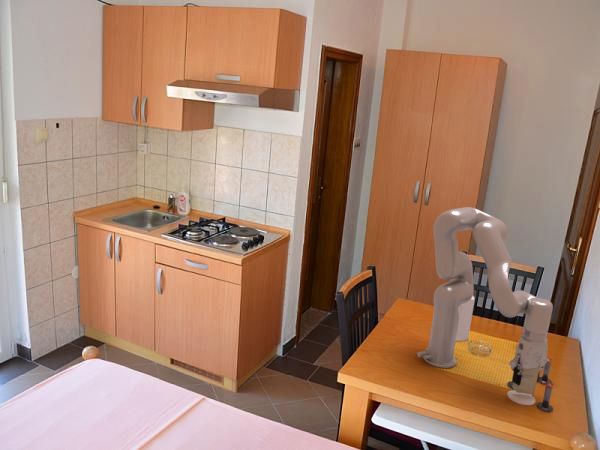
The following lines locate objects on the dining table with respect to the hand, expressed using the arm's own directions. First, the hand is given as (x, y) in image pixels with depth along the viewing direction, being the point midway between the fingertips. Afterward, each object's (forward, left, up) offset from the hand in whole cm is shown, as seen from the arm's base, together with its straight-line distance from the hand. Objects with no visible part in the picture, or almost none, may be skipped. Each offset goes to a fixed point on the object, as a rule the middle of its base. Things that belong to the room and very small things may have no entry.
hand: (524, 381), depth 180 cm
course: (+10, 0, -6) cm, 12 cm away
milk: (+8, +46, -6) cm, 47 cm away
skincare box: (0, 0, -4) cm, 4 cm away
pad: (0, 0, -6) cm, 6 cm away
